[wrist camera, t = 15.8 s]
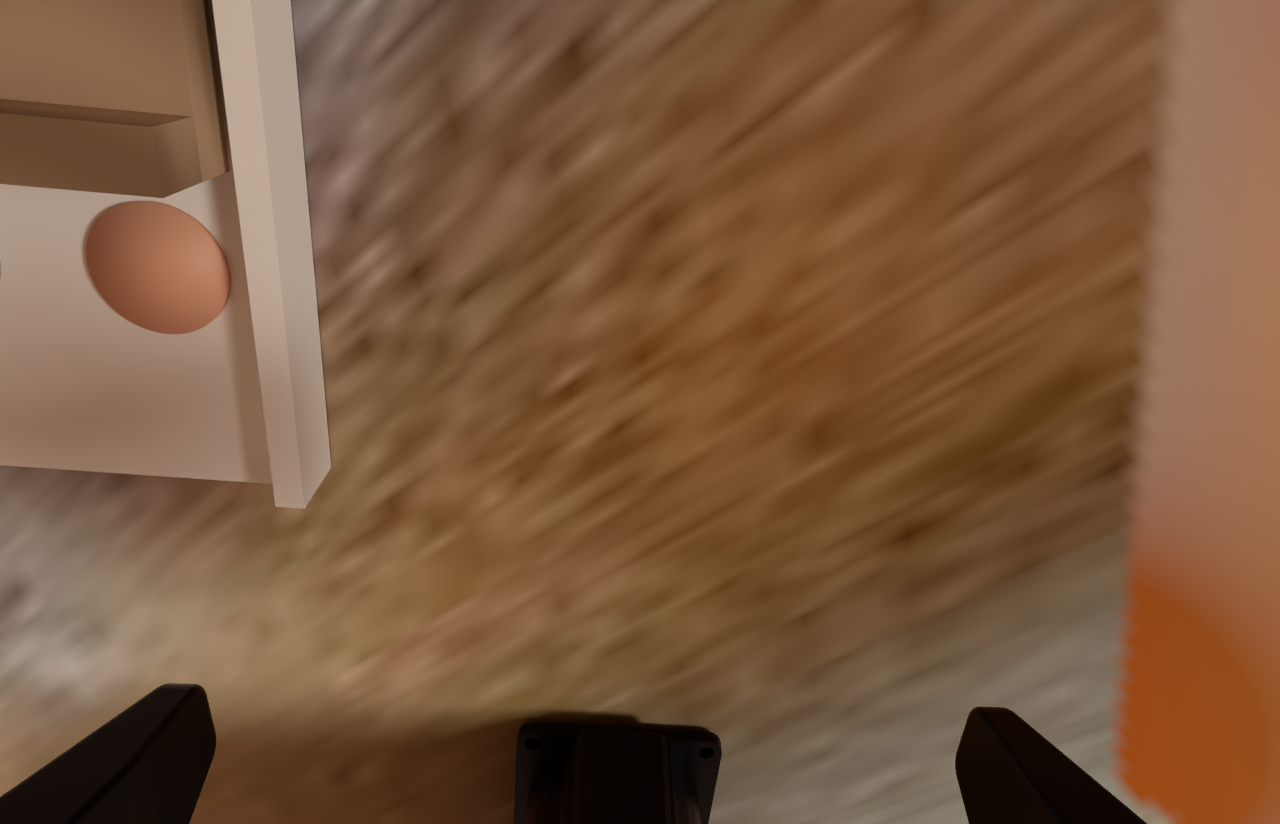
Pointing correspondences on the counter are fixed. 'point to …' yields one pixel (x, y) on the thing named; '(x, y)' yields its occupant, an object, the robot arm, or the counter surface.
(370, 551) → the counter surface
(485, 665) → the counter surface
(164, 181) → the lid
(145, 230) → the housing base
